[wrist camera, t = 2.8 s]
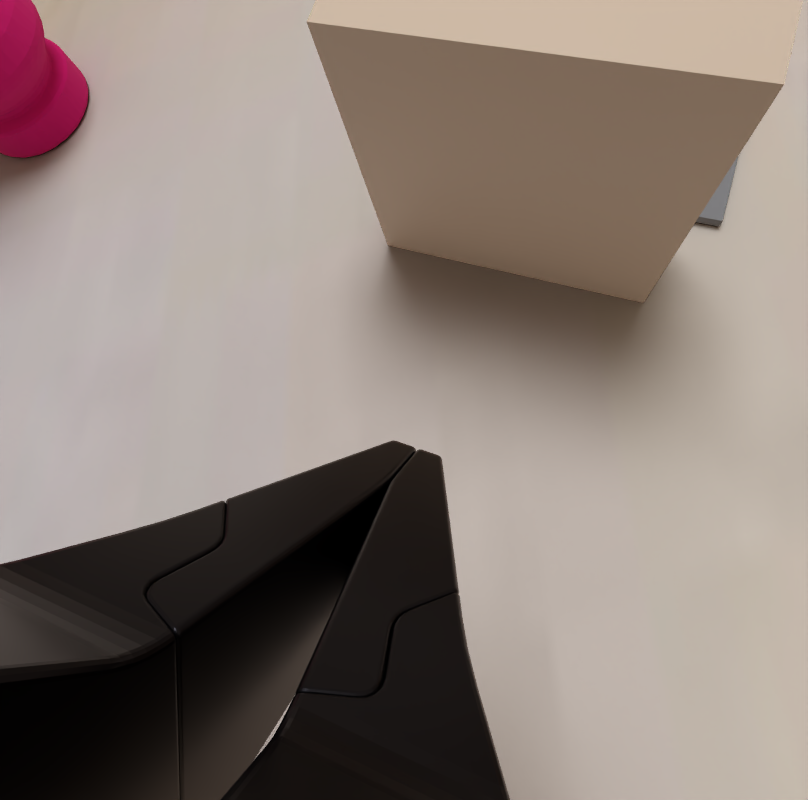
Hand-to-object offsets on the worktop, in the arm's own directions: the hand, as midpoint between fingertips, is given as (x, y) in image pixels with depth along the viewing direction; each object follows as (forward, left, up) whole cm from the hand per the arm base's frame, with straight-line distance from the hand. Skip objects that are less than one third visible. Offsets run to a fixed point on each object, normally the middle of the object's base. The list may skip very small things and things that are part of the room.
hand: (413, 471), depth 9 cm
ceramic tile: (-3, +11, -13) cm, 17 cm away
